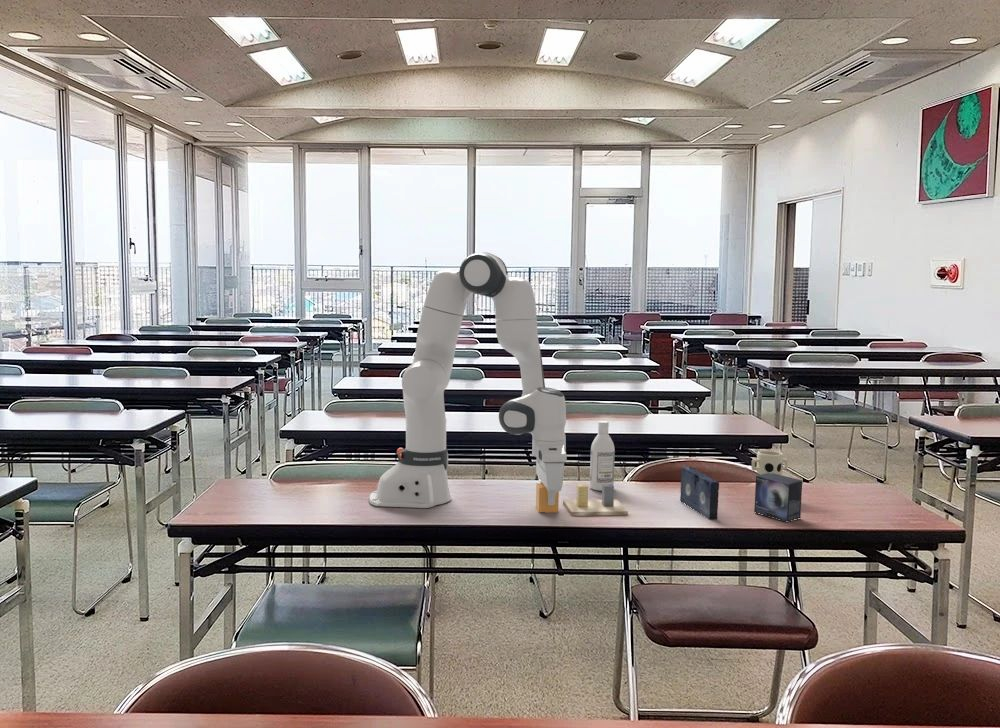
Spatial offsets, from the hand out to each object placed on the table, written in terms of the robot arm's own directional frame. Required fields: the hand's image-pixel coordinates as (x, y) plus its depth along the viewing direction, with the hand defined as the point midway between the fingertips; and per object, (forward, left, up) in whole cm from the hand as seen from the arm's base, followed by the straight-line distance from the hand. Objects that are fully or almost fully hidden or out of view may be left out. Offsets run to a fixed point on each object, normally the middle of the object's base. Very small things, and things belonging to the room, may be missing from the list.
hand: (547, 500), depth 227 cm
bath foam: (+20, +22, -3) cm, 30 cm away
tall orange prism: (0, 0, -3) cm, 3 cm away
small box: (+60, -9, -3) cm, 61 cm away
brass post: (+9, 0, -3) cm, 10 cm away
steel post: (+16, 0, -3) cm, 16 cm away
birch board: (+13, 0, -3) cm, 13 cm away
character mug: (+66, +10, -3) cm, 67 cm away
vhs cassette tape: (+41, -2, -3) cm, 41 cm away
